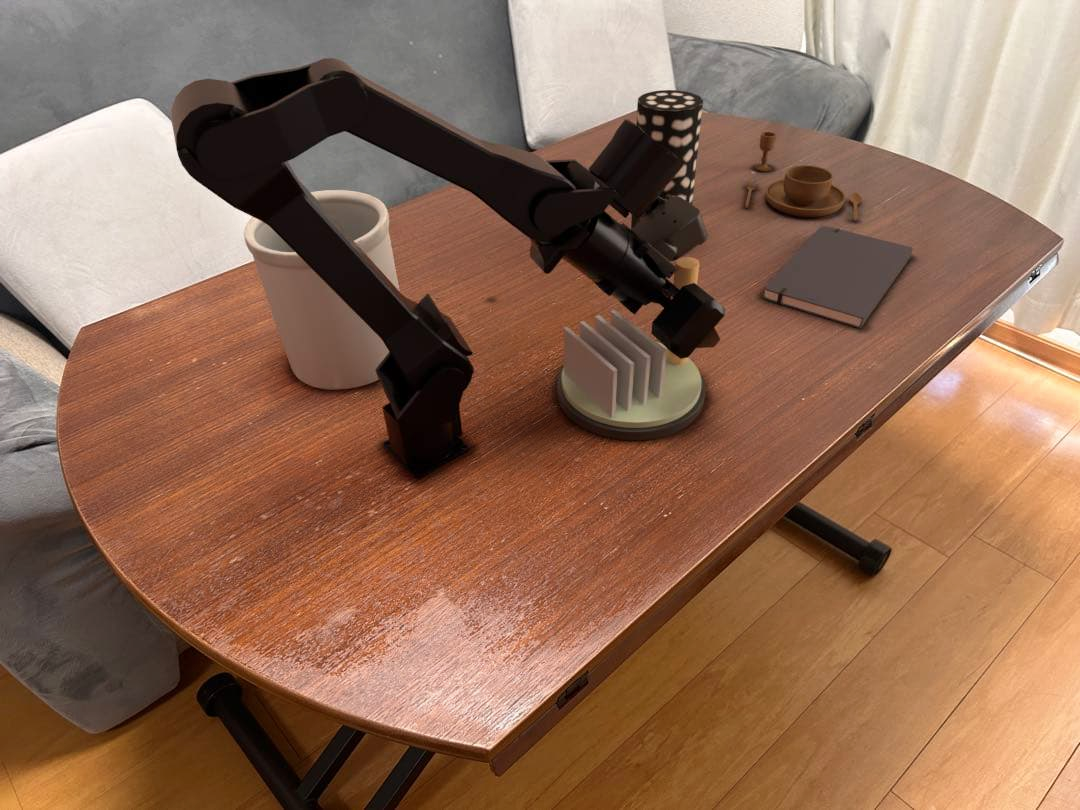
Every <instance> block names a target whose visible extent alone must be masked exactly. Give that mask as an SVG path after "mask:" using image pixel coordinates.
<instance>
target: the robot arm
mask: <svg viewBox="0 0 1080 810" xmlns="http://www.w3.org/2000/svg"><path fill="white" fill-rule="evenodd" d="M636 124H637V123H635V122H634V121H632V120H630V119H628V118H625V119H624V120H623V122H621V124H620V125H619V126H618V127H617V129H616V130H615V133H614V134H613V135H612V138H611V139H610V141H609V142H608V143H607V144H606V146H605V147H604V148H603V150H602V151H601V152H600V153H599V155H598V156H597V157H596V159H595V160H594V161H593V162H592V164H591V165H590V166H589V167H588V168H587V167H586V166H585V165H584V164H582V163H581V162H580V161H578V160H577V159H575V158H573V159H552V160H551V159H549V160H548V159H547V160H545V159H544V157H542V156H541V155H539V154H536V153H534V152H530V151H527V150H524V149H521V148H518V147H514V146H511V145H508V144H502V143H497V142H496V143H495V142H489V141H486V140H484V139H480V138H477V137H475V136H473V135H471V134H470V133H468V132H466V131H464V130H463V129H460V128H459V127H458V126H457V127H456V126H455V125H454V124H451V123H450V122H447V121H446V120H444V119H443V118H441V117H438V116H437V115H435V114H433V113H431V112H430V111H427V110H426V109H424V108H422V107H420V106H418V105H416V104H415V103H412V102H411V101H409V100H408V99H406V98H404V97H402V96H400V95H398V94H397V93H395V92H393V91H391V90H389V89H387V88H385V87H383V86H382V85H380V84H377V83H376V82H374V81H373V80H371V79H369V78H367V77H365V76H363V75H362V74H359V73H358V72H356V71H355V70H354V69H353V68H351V66H350V65H349V64H348V63H346V62H345V61H344V60H340V59H337V58H335V57H331V58H329V57H325V58H321V59H319V60H317V61H314V62H311V63H308V64H305V65H302V66H299V67H295V68H288V69H281V70H276V71H269V72H265V73H264V72H262V73H256V74H253V75H249V76H246V77H243V78H239V79H237V80H234V81H231V82H229V81H228V80H221V79H215V78H204V79H198V80H197V79H196V80H194V81H192V82H191V83H189V84H187V85H185V86H183V87H182V89H181V90H180V91H179V92H178V93H177V94H176V96H175V97H174V100H173V104H172V106H171V126H172V131H173V136H174V142H175V143H174V144H175V148H176V154H177V157H178V159H179V162H180V164H181V166H182V167H183V168H184V170H185V171H186V173H187V174H188V175H189V176H190V177H191V178H192V179H193V180H195V181H196V182H197V183H199V184H200V185H201V186H203V187H204V188H206V189H207V190H208V191H210V192H211V193H213V194H214V195H216V196H217V197H218V198H220V199H221V200H223V201H224V202H225V203H227V204H228V205H230V206H231V207H232V208H234V209H235V210H238V211H239V212H242V213H244V214H246V215H248V216H250V217H251V218H252V217H254V218H256V219H258V220H260V221H262V222H264V223H265V224H267V225H268V226H270V227H271V228H272V229H273V230H274V231H275V232H276V233H277V234H278V235H279V236H280V237H281V238H282V239H283V240H284V241H285V242H286V243H287V244H288V245H289V246H290V247H291V248H292V249H293V250H294V251H295V252H296V253H297V254H298V255H299V256H300V257H301V258H302V259H303V260H304V261H305V262H306V263H307V264H308V265H309V266H310V267H311V268H312V269H313V270H314V272H315V273H316V274H317V275H318V276H319V277H320V278H321V279H322V280H323V281H324V282H325V283H326V284H327V285H328V286H329V287H330V288H331V289H332V290H333V291H334V292H335V293H336V294H337V295H338V296H339V297H340V298H341V299H342V300H343V301H344V302H345V303H346V304H347V305H348V306H349V307H350V308H351V309H352V310H353V311H354V312H355V313H356V314H357V315H358V316H359V317H360V318H361V319H362V320H363V321H364V322H365V323H366V324H367V325H368V326H369V327H370V328H371V329H372V330H373V331H374V332H375V333H376V334H377V335H378V336H379V337H380V338H381V339H382V341H383V342H384V344H385V345H386V347H387V349H388V350H389V353H388V354H387V356H386V357H385V358H384V359H383V361H382V362H381V363H380V364H379V366H378V367H377V368H376V370H375V372H376V374H377V376H378V378H379V380H378V381H379V383H380V385H381V388H382V389H383V392H384V393H385V396H386V398H387V400H388V403H387V404H385V405H383V406H382V412H383V418H384V422H385V427H386V431H387V437H388V439H386V440H385V441H384V442H382V447H383V449H384V450H385V451H386V453H388V454H389V455H390V456H391V457H392V458H393V459H394V460H395V461H396V462H397V463H398V464H399V465H400V466H401V467H402V468H403V469H404V470H405V471H406V472H407V473H408V474H409V475H411V477H412V478H413V479H415V480H419V479H422V478H423V477H426V476H427V475H429V474H431V473H433V472H434V471H437V470H438V469H440V468H441V467H443V466H445V465H447V464H449V463H451V462H452V461H454V460H456V459H458V458H460V457H462V456H463V455H464V454H467V453H468V452H469V451H470V446H469V444H468V443H467V442H466V441H464V439H462V438H461V437H463V424H462V417H461V409H460V408H461V407H460V404H461V401H462V398H463V395H464V392H465V391H466V390H467V389H468V387H469V385H470V384H471V382H472V379H473V375H474V374H475V370H474V366H473V364H472V362H471V361H470V359H469V356H472V355H473V354H474V352H473V351H472V349H471V347H470V346H469V344H468V343H467V341H466V340H465V338H464V337H463V334H461V332H460V331H459V329H458V328H457V326H456V324H455V323H454V321H453V320H452V318H451V317H450V316H448V315H446V314H444V313H443V312H441V310H440V309H439V308H438V306H437V304H436V303H435V302H434V300H433V298H432V296H431V295H430V294H429V293H426V294H425V295H424V297H423V298H421V300H420V301H419V302H417V301H414V300H412V299H409V298H408V297H406V296H405V295H403V294H402V293H401V291H400V289H399V290H398V289H397V288H396V287H395V286H394V285H393V284H392V283H391V282H390V280H389V279H388V278H387V277H386V276H385V275H384V274H383V273H382V272H381V270H380V269H379V268H378V267H377V266H376V265H375V264H374V263H373V262H372V260H371V259H370V258H369V257H368V256H367V255H366V254H365V253H364V252H363V250H362V249H361V248H360V247H359V246H358V245H357V244H356V243H355V242H354V240H353V239H352V238H351V237H350V236H349V235H348V234H347V233H346V232H345V231H344V229H343V228H342V227H341V226H340V225H339V224H338V223H337V222H336V221H335V219H334V218H333V217H332V216H331V215H330V214H329V213H328V212H327V211H326V209H325V208H324V207H323V206H322V205H321V204H320V203H319V202H318V201H317V199H316V198H315V197H314V196H313V195H312V194H311V193H310V192H311V191H309V189H308V188H307V187H306V186H305V185H304V184H303V182H301V180H300V179H299V177H298V176H297V174H296V172H295V171H294V169H293V168H292V166H291V164H290V163H289V161H291V160H294V159H295V158H297V157H298V156H300V155H302V154H304V153H305V152H306V151H308V150H311V148H313V147H315V146H316V145H318V144H320V143H322V142H323V141H325V140H326V139H328V138H330V137H333V136H336V135H338V134H341V133H344V132H346V133H348V134H350V135H352V136H355V138H358V139H360V140H363V141H365V142H366V143H368V144H371V145H372V146H375V147H377V148H378V149H381V150H383V151H385V152H387V153H389V154H391V155H393V156H395V157H398V158H399V159H402V160H404V161H406V162H408V163H410V164H412V165H413V166H416V167H418V168H420V169H422V170H424V171H426V172H428V173H430V174H432V175H435V177H439V178H441V179H443V180H444V181H447V182H449V183H451V184H453V185H455V186H456V187H458V188H461V189H463V190H465V191H467V192H469V193H471V194H472V195H474V196H475V197H477V198H478V199H479V200H480V201H481V202H483V203H484V204H485V205H486V206H487V207H489V208H490V209H491V210H493V211H494V212H495V213H496V214H497V215H498V216H499V217H500V218H502V219H503V220H504V221H506V222H507V223H509V224H510V226H513V228H515V229H517V230H518V231H519V232H520V233H522V234H523V235H525V236H526V237H527V238H529V241H530V249H529V257H530V259H531V261H533V262H534V263H535V264H536V265H537V266H538V268H540V270H541V271H542V272H543V273H544V274H546V275H549V274H551V273H552V272H553V271H554V269H555V268H556V267H557V265H558V264H559V263H560V262H561V260H563V261H565V262H566V263H567V264H569V265H571V266H572V267H573V268H574V269H576V270H577V271H578V272H579V273H581V274H582V275H584V277H586V278H588V280H591V281H592V282H593V283H594V284H595V285H596V286H597V287H598V288H599V289H600V290H601V291H602V292H603V293H604V294H606V295H607V296H608V297H611V296H612V297H613V298H615V299H616V300H618V302H619V303H620V304H621V305H623V307H624V308H626V309H627V310H628V311H629V313H632V314H633V315H636V314H638V311H640V309H641V308H642V307H643V306H648V305H649V304H651V303H653V304H657V305H660V306H661V307H662V308H663V309H662V310H661V311H660V312H659V313H658V314H657V316H656V317H655V318H654V319H653V320H652V322H651V332H650V334H651V335H652V336H653V337H654V338H656V339H657V341H658V342H659V343H662V344H663V345H664V346H665V347H666V348H667V349H668V350H669V351H670V352H672V353H673V354H675V355H676V356H677V357H679V358H680V359H683V358H689V357H690V356H691V355H692V353H694V351H695V350H696V349H705V348H707V349H708V348H714V347H716V345H718V343H719V342H720V341H721V338H720V335H719V333H718V331H717V329H716V328H715V327H716V326H717V325H718V324H719V323H720V322H721V320H722V319H724V317H725V316H726V308H725V306H724V305H722V303H720V302H719V301H718V300H716V298H714V297H713V296H711V295H710V294H709V293H708V292H707V291H705V290H704V289H703V288H701V287H700V286H699V285H698V284H697V285H696V284H695V283H692V284H689V285H685V286H683V287H682V288H681V289H678V288H677V287H676V286H675V285H674V284H673V282H671V281H670V280H669V279H671V277H672V276H674V273H675V272H676V270H677V269H678V268H677V267H675V264H673V263H672V262H674V261H675V262H676V260H677V259H679V258H682V257H684V255H686V254H688V253H689V252H690V251H692V250H693V249H694V248H696V247H697V246H701V245H703V244H704V243H705V242H706V241H708V237H709V234H708V232H707V229H706V226H705V223H704V220H703V216H702V213H701V211H700V209H699V208H698V207H696V206H695V205H693V203H692V204H690V203H689V202H687V201H686V200H684V199H683V198H681V197H673V196H671V195H670V194H668V195H666V198H667V199H666V200H665V199H662V198H661V197H659V195H660V194H661V192H662V191H663V190H664V189H665V188H666V186H667V185H668V184H669V183H670V182H671V180H672V179H673V178H674V177H675V176H676V174H677V173H678V172H679V171H680V169H681V168H682V167H683V164H682V163H681V161H680V160H679V159H678V158H677V157H676V156H675V155H674V154H673V153H672V152H671V151H670V150H668V149H667V148H665V147H663V146H662V145H660V144H659V143H657V142H656V141H655V140H654V139H653V138H651V137H650V136H649V135H648V134H646V133H645V132H644V131H643V130H642V129H641V128H640V127H639V126H638V125H636ZM658 205H659V206H658ZM609 206H610V207H611V208H612V209H613V210H615V211H616V212H617V213H618V214H619V215H621V216H622V217H623V218H625V219H627V218H628V217H629V216H630V214H631V216H632V215H633V216H634V217H635V218H636V219H637V222H636V226H635V227H633V228H632V229H631V227H629V226H628V225H626V224H625V223H624V222H622V223H620V222H618V221H617V220H616V219H615V218H613V216H611V215H610V214H609V213H608V212H607V211H606V210H607V209H608V207H609ZM657 206H658V207H657ZM399 291H400V292H399ZM672 297H673V298H672Z"/></svg>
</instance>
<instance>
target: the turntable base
mask: <svg viewBox="0 0 1080 810" xmlns="http://www.w3.org/2000/svg"><path fill="white" fill-rule="evenodd" d="M563 368H564V365H563V366H562V368H561V369H560V371H559V373H558V376H557V381H556V395H557V396H556V397H557V400H558V401H557V402H558V403H559V406H560V408H561V409H562V411H563V412H564V414H565V415H566V416H567V418H569V419H570V420H571V421H572V422H574V423H575V424H576V425H578V426H579V427H581V428H582V429H585V430H587V431H588V432H590V433H593V434H595V435H599V436H601V437H604V438H605V437H606V438H609V439H614V440H621V441H648V440H649V441H650V440H656V439H660V438H665V437H667V436H671V435H673V434H676V433H678V432H680V431H681V430H684V429H685V428H687V427H688V426H690V425H691V424H692V423H693V422H694V421H695V420H696V419H697V418H698V417H699V415H700V413H701V412H702V410H703V407H704V404H705V403H704V402H705V398H706V384H705V380H704V378H703V376H702V374H701V372H700V371H699V373H700V376H701V392H700V396H699V398H698V401H697V403H696V404H695V405H694V406H693V408H692V409H691V410H690V411H689V412H688V413H686V414H685V415H683V416H682V417H680V418H678V419H676V420H674V421H672V422H669V423H666V424H662V425H659V426H653V427H646V428H625V427H617V426H611V425H607V424H604V423H600V422H598V421H595V420H593V419H591V418H589V417H587V416H585V415H583V414H582V413H580V412H579V411H577V410H576V409H575V408H574V407H573V406H572V405H571V404H570V403H569V402H568V400H567V399H566V397H565V395H564V393H563V390H562V372H563Z"/></svg>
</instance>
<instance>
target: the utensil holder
mask: <svg viewBox="0 0 1080 810" xmlns="http://www.w3.org/2000/svg"><path fill="white" fill-rule="evenodd" d="M309 192H310V193H311V194H312V195H313V196H314V197H315V198H316V199H317V201H318V202H319V203H320V204H321V205H322V206H323V207H324V208H325V209H326V211H327V212H328V213H329V214H330V215H331V216H332V217H333V218H334V219H335V221H336V222H337V223H338V224H339V225H340V226H341V227H342V228H343V229H344V231H345V232H346V233H347V234H348V235H349V236H350V237H351V238H352V239H353V240H354V242H355V243H356V244H357V245H358V246H359V247H360V248H361V249H362V250H363V252H364V253H365V254H366V255H367V256H368V257H369V258H370V259H371V260H372V262H373V263H374V264H375V265H376V266H377V267H378V268H379V269H380V270H381V272H382V273H383V274H384V275H385V276H386V277H387V278H388V279H389V280H390V282H391V283H392V284H393V285H394V286H395V287H396V288H397V289H398V290H399V292H400V293H401V291H400V287H399V286H400V285H399V281H398V275H397V270H396V264H395V263H396V262H395V258H394V253H393V248H392V241H391V237H390V236H391V235H390V231H389V228H390V216H389V211H388V209H387V206H386V205H385V204H384V203H383V202H382V201H381V200H380V199H378V197H375V196H373V195H370V194H367V193H364V192H360V191H354V190H346V189H328V190H327V189H325V190H317V191H316V190H315V191H309ZM243 236H244V242H245V245H246V247H247V249H248V251H249V252H250V253H251V255H252V257H253V261H254V264H255V267H256V270H257V273H258V275H259V279H260V282H261V285H262V288H263V291H264V293H265V296H266V299H267V302H268V305H269V308H270V312H271V315H272V318H273V321H274V324H275V327H276V330H277V333H278V335H279V338H280V340H281V344H282V347H283V349H284V352H285V355H286V358H287V360H288V363H289V365H290V368H291V371H292V373H293V374H294V376H295V377H296V378H297V379H298V380H299V381H301V382H302V383H304V384H306V385H308V386H309V387H312V388H315V389H316V388H318V389H322V390H331V391H332V390H334V391H335V390H347V389H356V388H359V387H363V386H367V385H369V384H372V383H375V382H377V381H380V380H379V378H378V376H377V374H376V372H375V370H376V368H377V367H378V366H379V364H380V363H381V362H382V361H383V359H384V358H385V357H386V356H387V354H388V353H389V350H388V349H387V347H386V345H385V344H384V342H383V341H382V339H381V338H380V337H379V336H378V335H377V334H376V333H375V332H374V331H373V330H372V329H371V328H370V327H369V326H368V325H367V324H366V323H365V322H364V321H363V320H362V319H361V318H360V317H359V316H358V315H357V314H356V313H355V312H354V311H353V310H352V309H351V308H350V307H349V306H348V305H347V304H346V303H345V302H344V301H343V300H342V299H341V298H340V297H339V296H338V295H337V294H336V293H335V292H334V291H333V290H332V289H331V288H330V287H329V286H328V285H327V284H326V283H325V282H324V281H323V280H322V279H321V278H320V277H319V276H318V275H317V274H316V273H315V272H314V270H313V269H312V268H311V267H310V266H309V265H308V264H307V263H306V262H305V261H304V260H303V259H302V258H301V257H300V256H299V255H298V254H297V253H296V252H295V251H294V250H293V249H292V248H291V247H290V246H289V245H288V244H287V243H286V242H285V241H284V240H283V239H282V238H281V237H280V236H279V235H278V234H277V233H276V232H275V231H274V230H273V229H272V228H271V227H270V226H268V225H267V224H265V223H264V222H262V221H260V220H258V219H256V218H254V217H252V216H251V218H250V219H249V220H248V221H247V222H246V225H245V227H244V230H243Z"/></svg>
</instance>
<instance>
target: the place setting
mask: <svg viewBox="0 0 1080 810" xmlns="http://www.w3.org/2000/svg"><path fill="white" fill-rule="evenodd" d="M759 138H760V139H759V149H760V150H761V151H762V157H761V158H760V159H761V160H760V161H761V163H759V164H755V166H754V169H755V171H757V172H760V173H761V172H763V173H765V172H766V173H767V172H770V171H771V170H772V167H771V165H768V164H766V163H768V160H769V158H768V155H769V152H771V151H772V150H773V149H774V147H775V144H776V138H777V133H775V132H773V131H763V132H761V133H760V137H759ZM833 178H834V175H833V173H832V172H831V171H830V170H828V169H826V168H825V167H821V166H817V165H808V164H801V165H794V166H791V167H789V168H787V169H786V171H785V173H784V178H781V179H778V180H775V181H772V182H770V183H769V184H768V185H767V186H766V188H765V193H764V194H765V195H764V196H765V200H766V201H767V203H768V204H769V205H770V206H771V207H772V208H774V209H776V210H777V211H779V212H782V213H783V214H785V215H790V216H794V217H800V218H820V217H824V216H829V215H831V214H834V213H836V212H838V211H839V210H840V209H841V208H842V207H843V206H844V204H845V201H846V198H847V197H846V196H847V195H846V193H845V192H844V191H843V190H842V189H841V188H840V187H838V186H837V185H835V184H832V182H833ZM756 184H757V179H755V178H753V179H752V180H750V179H748V180H747V184H746V190H747V191H748V192H747V196H746V200H745V208H747V209H748V208H749V205H750V202H751V196H752V191H754V190H755V189H756ZM862 199H863V198H862V196H861V194H859V193H858V192H852V193H851V194H850V195H849V196H848V200H849V202H850V203H851V204H853V210H852V219H853V221H857V219H858V205H859V204H860V203H861V201H862Z"/></svg>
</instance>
